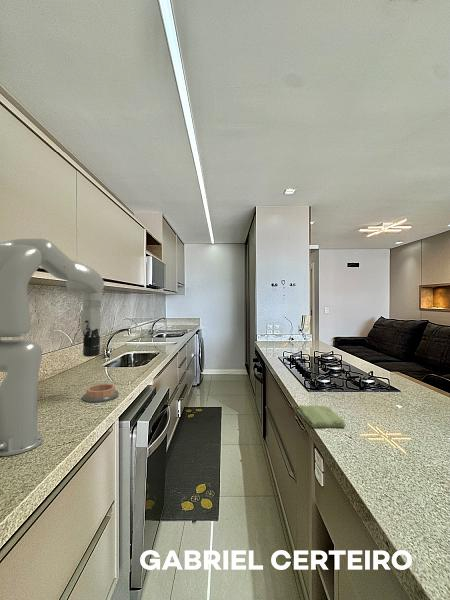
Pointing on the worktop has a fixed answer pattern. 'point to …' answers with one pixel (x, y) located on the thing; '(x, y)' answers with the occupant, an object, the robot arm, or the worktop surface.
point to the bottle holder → (100, 393)
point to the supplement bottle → (95, 347)
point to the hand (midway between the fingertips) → (91, 344)
